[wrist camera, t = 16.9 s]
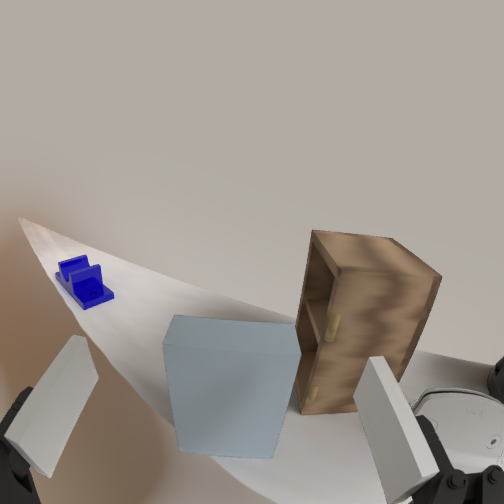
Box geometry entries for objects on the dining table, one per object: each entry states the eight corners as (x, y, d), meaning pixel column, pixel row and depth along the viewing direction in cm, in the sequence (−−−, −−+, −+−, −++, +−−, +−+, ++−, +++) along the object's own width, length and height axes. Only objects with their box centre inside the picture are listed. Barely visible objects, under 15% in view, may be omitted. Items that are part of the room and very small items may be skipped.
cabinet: (359, 352, 44) (392, 238, 37) (385, 410, 32) (444, 278, 25) (289, 352, 44) (311, 229, 37) (301, 418, 31) (342, 272, 24)
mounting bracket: (56, 279, 57) (52, 256, 55) (80, 271, 63) (77, 249, 61) (84, 311, 48) (79, 283, 46) (114, 300, 53) (110, 273, 51)
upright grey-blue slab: (269, 426, 30) (292, 318, 24) (272, 458, 25) (301, 354, 20) (185, 419, 29) (176, 309, 24) (179, 451, 25) (162, 343, 19)
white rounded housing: (386, 456, 24) (426, 386, 24) (390, 438, 29) (423, 373, 28) (489, 479, 16) (532, 413, 16) (484, 461, 20) (521, 400, 20)
